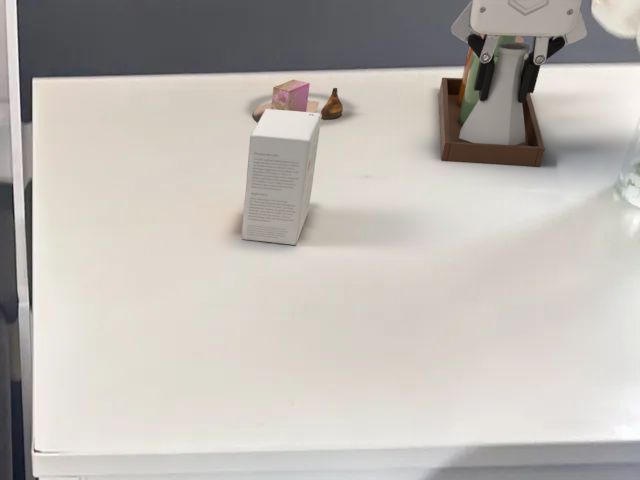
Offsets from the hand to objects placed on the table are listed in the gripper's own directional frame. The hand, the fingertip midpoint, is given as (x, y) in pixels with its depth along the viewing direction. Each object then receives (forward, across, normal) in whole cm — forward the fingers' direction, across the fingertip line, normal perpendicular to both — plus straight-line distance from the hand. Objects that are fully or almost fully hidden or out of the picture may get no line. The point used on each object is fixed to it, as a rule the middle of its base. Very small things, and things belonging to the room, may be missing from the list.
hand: (501, 96), depth 105 cm
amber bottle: (+6, 0, +16) cm, 18 cm away
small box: (+7, -21, -25) cm, 33 cm away
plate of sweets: (+7, -22, +10) cm, 25 cm away
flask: (+5, 0, 0) cm, 5 cm away
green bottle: (+6, 0, +10) cm, 11 cm away
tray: (+7, 0, +8) cm, 10 cm away
